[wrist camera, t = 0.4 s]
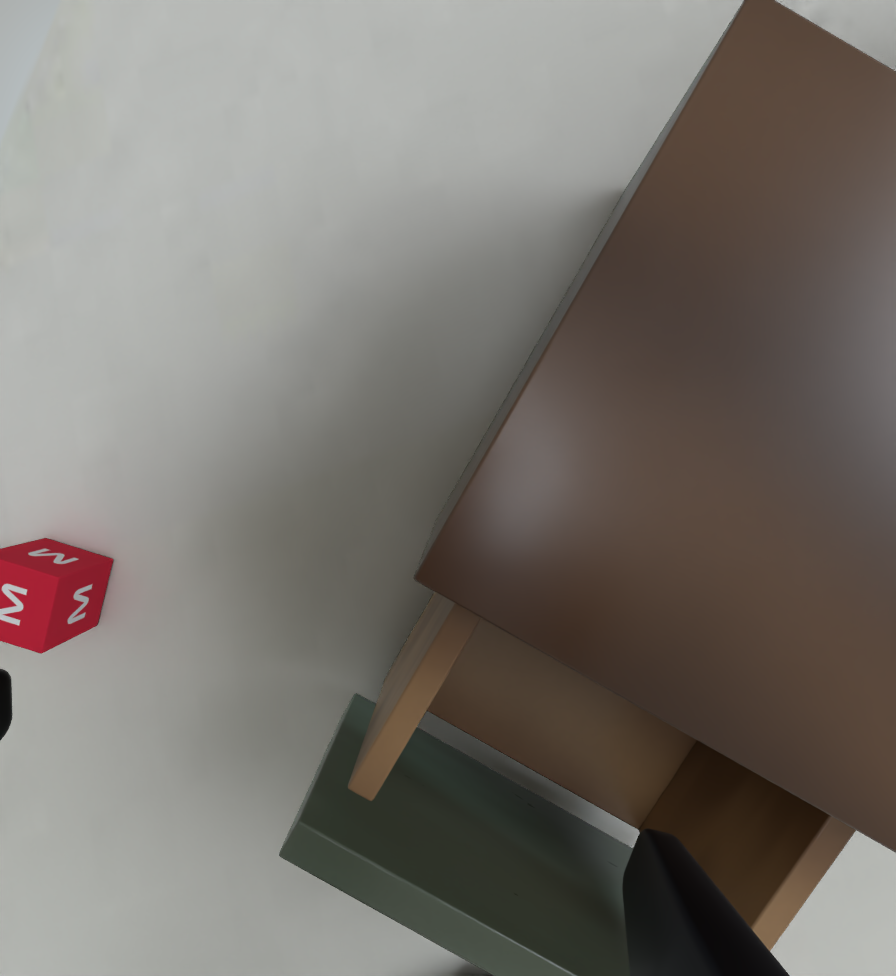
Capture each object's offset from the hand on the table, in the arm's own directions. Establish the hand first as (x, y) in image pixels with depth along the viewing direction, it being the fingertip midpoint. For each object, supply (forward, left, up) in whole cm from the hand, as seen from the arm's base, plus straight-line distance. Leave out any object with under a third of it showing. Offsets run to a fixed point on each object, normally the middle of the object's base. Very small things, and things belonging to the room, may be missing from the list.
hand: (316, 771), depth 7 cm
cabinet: (+11, -1, -14) cm, 18 cm away
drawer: (+3, -7, -14) cm, 16 cm away
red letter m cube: (-14, +5, -15) cm, 21 cm away
